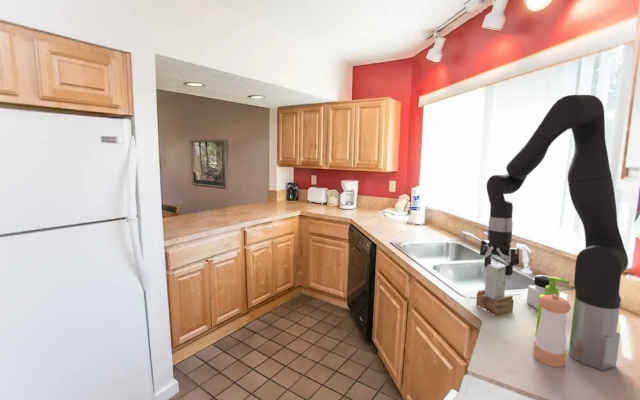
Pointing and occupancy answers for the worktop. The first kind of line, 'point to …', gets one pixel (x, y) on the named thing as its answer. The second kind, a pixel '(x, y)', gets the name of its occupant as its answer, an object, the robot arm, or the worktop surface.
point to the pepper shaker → (551, 331)
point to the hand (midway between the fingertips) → (497, 271)
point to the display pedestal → (495, 304)
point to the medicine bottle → (537, 290)
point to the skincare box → (495, 281)
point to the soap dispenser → (549, 292)
